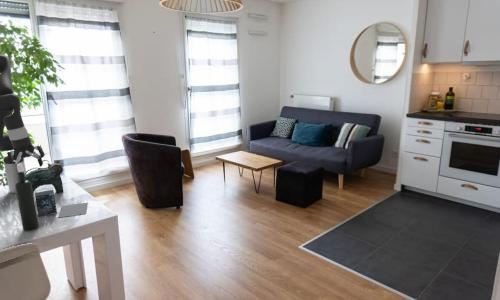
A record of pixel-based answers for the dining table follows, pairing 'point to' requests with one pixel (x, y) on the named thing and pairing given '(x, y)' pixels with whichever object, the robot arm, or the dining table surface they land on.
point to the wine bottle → (26, 201)
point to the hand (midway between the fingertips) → (31, 168)
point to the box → (45, 202)
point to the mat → (73, 210)
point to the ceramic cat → (46, 177)
